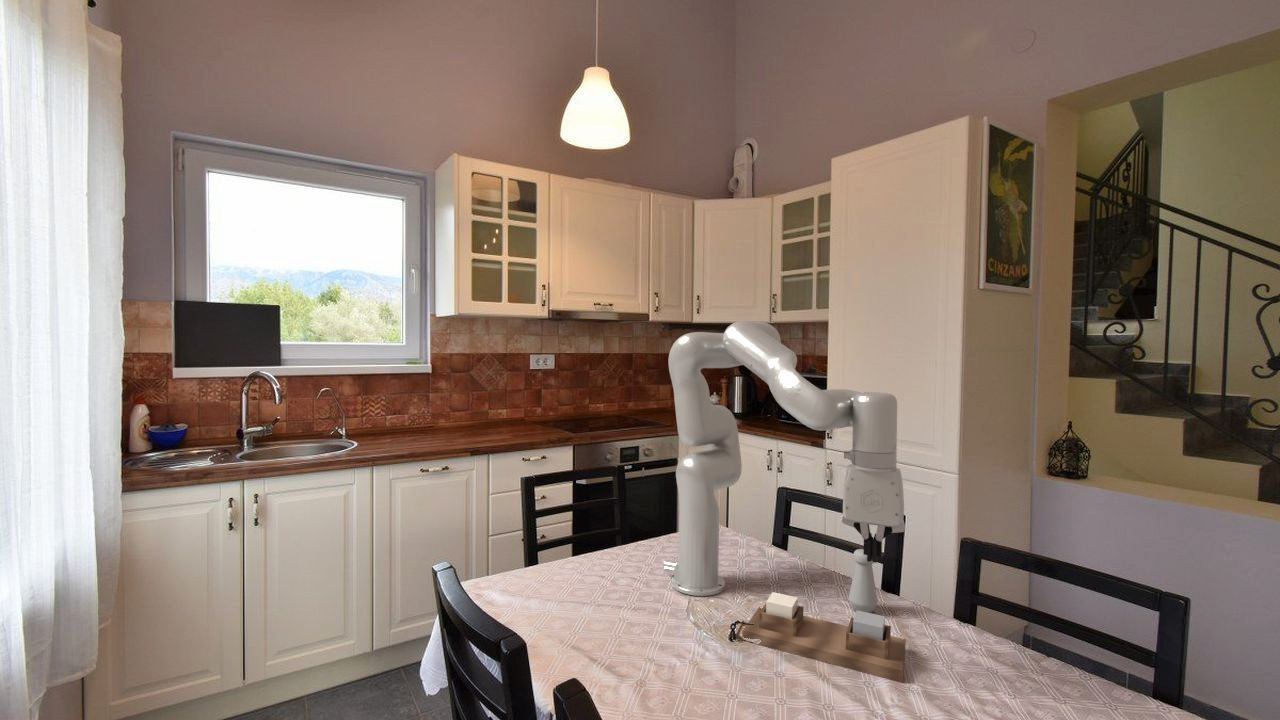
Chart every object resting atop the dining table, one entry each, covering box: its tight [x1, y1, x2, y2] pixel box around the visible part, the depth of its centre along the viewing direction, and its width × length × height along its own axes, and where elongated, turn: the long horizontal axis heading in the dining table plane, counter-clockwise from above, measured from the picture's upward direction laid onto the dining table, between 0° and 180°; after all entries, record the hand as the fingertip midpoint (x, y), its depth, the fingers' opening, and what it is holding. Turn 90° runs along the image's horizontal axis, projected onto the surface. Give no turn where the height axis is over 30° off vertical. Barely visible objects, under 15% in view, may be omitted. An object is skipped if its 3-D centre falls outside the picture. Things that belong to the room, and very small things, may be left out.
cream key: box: [765, 591, 799, 619], centre depth 112 cm, size 5×5×2 cm
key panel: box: [742, 603, 907, 683], centre depth 108 cm, size 28×12×5 cm, turn 62°
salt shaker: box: [848, 548, 879, 614], centre depth 123 cm, size 6×6×13 cm
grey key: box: [853, 610, 886, 640], centre depth 104 cm, size 5×5×2 cm
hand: (872, 559), depth 104 cm, fingers closed
